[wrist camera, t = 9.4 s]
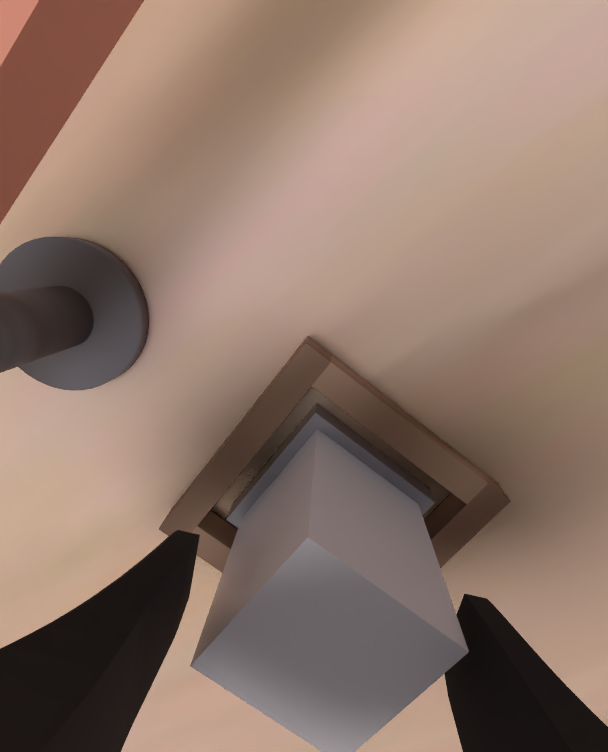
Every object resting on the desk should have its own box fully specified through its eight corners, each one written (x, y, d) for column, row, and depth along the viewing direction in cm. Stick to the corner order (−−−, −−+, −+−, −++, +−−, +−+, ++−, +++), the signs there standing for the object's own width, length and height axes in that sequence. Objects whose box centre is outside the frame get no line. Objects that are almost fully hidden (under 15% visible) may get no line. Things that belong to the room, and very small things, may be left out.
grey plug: (429, 488, 16) (496, 650, 10) (339, 580, 18) (343, 781, 11) (316, 402, 16) (304, 512, 9) (231, 504, 17) (166, 667, 10)
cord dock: (497, 483, 16) (622, 655, 9) (345, 632, 18) (353, 864, 11) (76, 156, 14) (-169, 62, 7) (-40, 365, 16) (-317, 447, 9)
